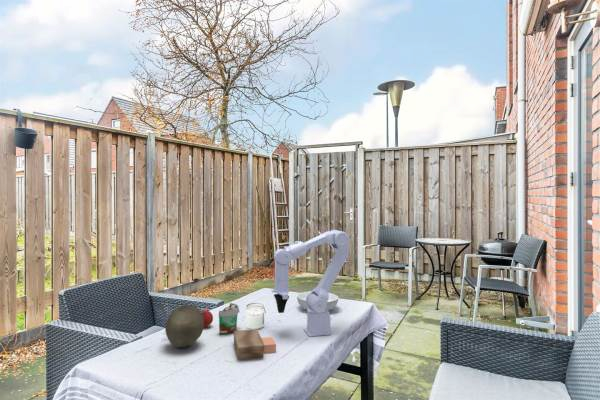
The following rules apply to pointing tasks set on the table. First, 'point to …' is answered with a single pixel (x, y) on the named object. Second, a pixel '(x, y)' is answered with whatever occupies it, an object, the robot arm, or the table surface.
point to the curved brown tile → (248, 344)
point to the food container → (228, 319)
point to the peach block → (269, 345)
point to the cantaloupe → (184, 325)
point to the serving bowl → (330, 303)
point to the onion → (207, 317)
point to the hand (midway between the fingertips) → (280, 312)
